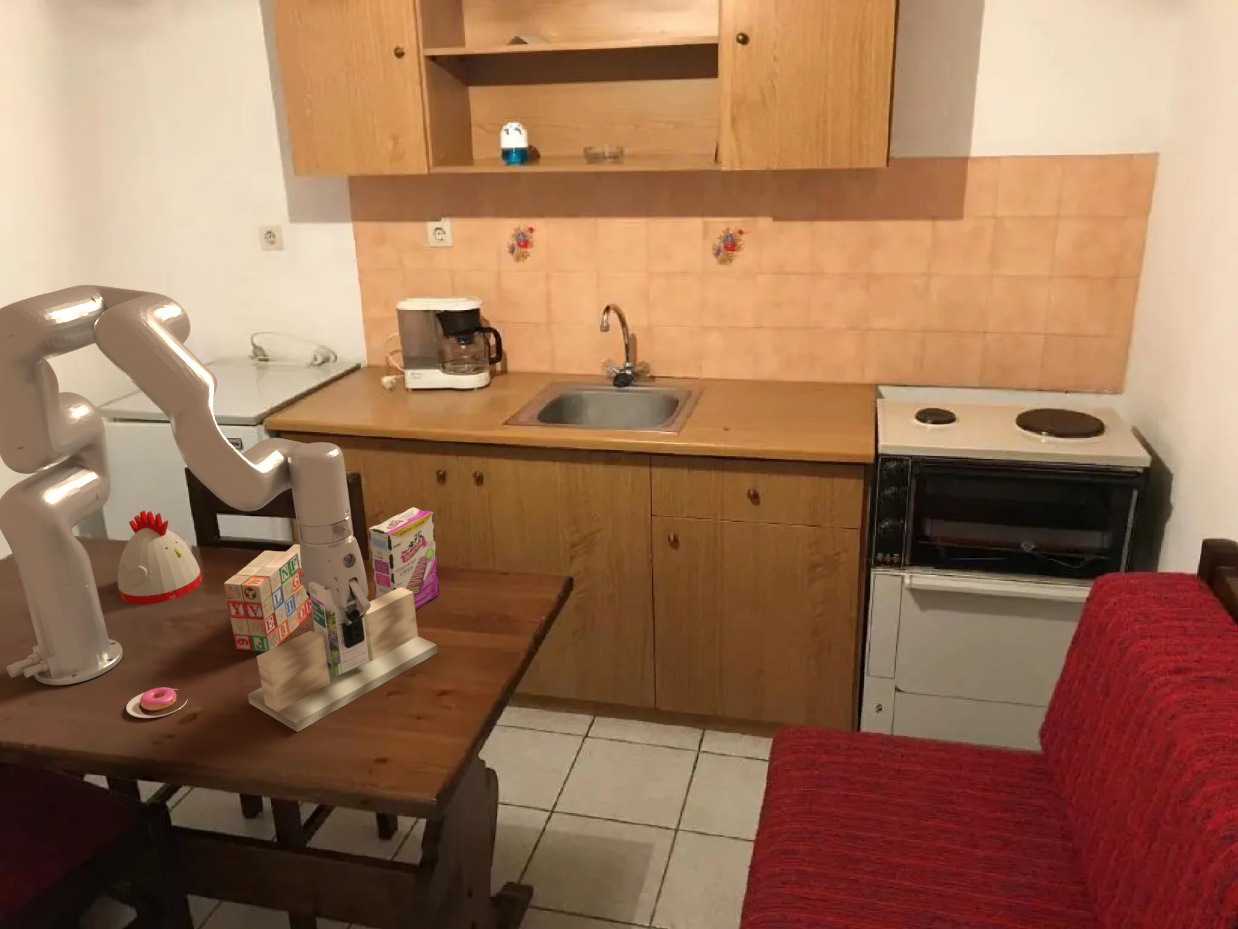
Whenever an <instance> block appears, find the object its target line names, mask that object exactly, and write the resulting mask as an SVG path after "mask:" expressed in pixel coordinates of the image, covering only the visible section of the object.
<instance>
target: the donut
mask: <svg viewBox="0 0 1238 929" xmlns="http://www.w3.org/2000/svg"><path fill="white" fill-rule="evenodd" d="M176 691H178V689H177V688H171V687H166V686H165V687H164V686H161V687H156V688H152V689H149V690H147V691H145V692H142V693H141V694H140V693H139V694H138V695H136V696H135V697H133V698H131V700H129V701H128V703H127V704H126V712H127V713H128V714H129V715H131V716H133V717H135V718H139V719H141V718H142V719H151V718H152V719H154V718H155V719H156V718H161V717H165V716H168V715H170V714H173V713H175V712H178V710H181V709H182V708H183V707H184V706H186V704H187V702H188V700H186V701H185V702H184V703H183V705H181V706H180V707H179V708H177V709H175V710H173V711H171V712H169V713H166V714H160V715H148V714H145V713H144V712H142V710H141V708H140V706H141V707H142V708H143V709H144V710H147V711H150V712H151V711H152V712H153V711H155V712H157V711H161V710H165V709H167V708H170V707H171V706H172V705H174V703H176V701H177V697H178V694H177V693H176Z"/></svg>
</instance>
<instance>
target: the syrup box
mask: <svg viewBox="0 0 1238 929" xmlns="http://www.w3.org/2000/svg"><path fill="white" fill-rule="evenodd" d="M356 581H357V580H356ZM309 590H310V598H311V606H312V612H311V613H312V621H313V627H314V629H313V630H314V632H315V633H317V634H320V635H322V636H323V639H324V645H325V652H326V659H327V666H328V670H329V671H331V672H332V673H334V674H335V675H336V676H338V675H341V674H343V673H345V672H347V671H350V670H352V669H354V668H356V667H358V666H360V665H363V664H365V663H367V662H369V658H368V650H367V640H366V632H365V623H364V618H362V623H363V630H364V641H362V642H360V643H358V644H357V645H355V646H353V647H351V648H346V647H345V644H344V637H343V630H342V624H344V623H345V622H344V620H343V617H342V614H341V612H340V609H339V607H338V606H335V605H334V602H333V599H332V595H331V592H330V588H327V587H325V586H322V585H320V584H317V583H315V582H311V583H309ZM352 599H353V598H352V596H349V599H348V600H347V602H348V601H350V600H352ZM347 609H348V612H349V614H350V613H351V612H352V611H353V610H354V608H353V605H351V606H348V607H347Z"/></svg>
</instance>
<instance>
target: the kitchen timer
mask: <svg viewBox="0 0 1238 929" xmlns="http://www.w3.org/2000/svg"><path fill="white" fill-rule="evenodd" d="M133 518H134V519H132V520H130V521H128V523H129V526H130V527H131V529H132V530H133V532H134V534H133V535H132V536H131V537H130V539H129V540H128V541H127V542H126V545H125V547H124V549H123V551H122V553H121V556H120V560H119V563H118V564H119V565H118V572H117V586H118V591H119V595H120V598H121V599H122V600H123V601H124V602H126V603H130V604H138V605H139V604H140V605H147V604H148V605H149V604H158V603H162V602H166V601H167V602H168V601H170V600H175V599H177V598H180V597H183V596H185V595H186V594H188V593H190V592H193V590H195V589H196V588H197V587H198V586H199V585H200V584H201V582H202V572H201V569H200V566H199V564H198V562H197V560H196V558H195V556H194V554H193V553H192V548H193V547H192V545H191V543H190V542H189V541H188V540H187V539H182V538H181V537H180V536H179V535H178V534H176V533H174V532H173V531H171V530H169V529H168V525H169V520H164V522H163V519H162V515H161V513H160V512H159V513H156V514H155V515H154V514H153V512H152V511H148V512H147V513H146V510H144V509H143V510H142V511H140V512H139V515H138V514H137V515H135V516H134V517H133Z"/></svg>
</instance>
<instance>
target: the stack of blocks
mask: <svg viewBox="0 0 1238 929" xmlns="http://www.w3.org/2000/svg"><path fill="white" fill-rule="evenodd" d="M301 577H302V570H301V559H300V544H298V543H297V544H296V543H295V544H293V545H292V546H290V548H289V549H287V550H286V551H275V550H274V551H273V550H263V552H261V553H260V554H259V555H257V557H255V558H254V559H252V560H251V561H250V562H249V563H248V564H247V565H246V566H244V567H243V568H242V569H240V570H239V571H238V572H237V573H236V574H234V575H233V576H231V577H230V578H229V579H227V580H226V581H225V582H224V583H223V586H224V590H225V596H226V604H227V609H228V614H229V618H230V623H231V628H232V632H233V633H232V635H233V639H234V644H235V650H242V651H251V652H252V651H253V652H261V653H265V652H267V651H269V650H271V649H273V648H275V647H277V646H279V645H280V644H282V642H283V641H284V640H285V639H286V638H287V637H288V636H290V634H291V633H292V632H294V630H296V629H297V628H298V627H299V626H300V624H302V622H304V621H305V619H306V618H308V616H310V614H311V613H312V608H311V600H310V598H309V597H308V595H307V594H306V589H305V588H304V586H303V585H302V583H301V581H300V578H301Z"/></svg>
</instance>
